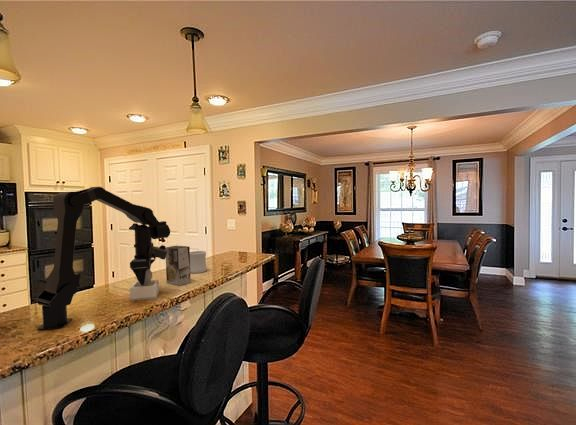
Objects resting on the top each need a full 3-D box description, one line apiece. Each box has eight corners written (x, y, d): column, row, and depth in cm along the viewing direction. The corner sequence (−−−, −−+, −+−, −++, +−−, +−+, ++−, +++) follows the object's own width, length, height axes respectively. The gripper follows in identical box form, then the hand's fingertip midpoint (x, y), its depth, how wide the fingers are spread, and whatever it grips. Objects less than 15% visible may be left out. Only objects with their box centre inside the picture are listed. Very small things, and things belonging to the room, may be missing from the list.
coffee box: (191, 282, 134) (190, 246, 133) (179, 286, 128) (178, 248, 128) (178, 279, 139) (177, 244, 138) (165, 283, 133) (164, 246, 132)
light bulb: (146, 297, 111) (146, 270, 111) (133, 296, 112) (133, 269, 112) (155, 292, 117) (155, 267, 116) (143, 291, 118) (142, 266, 118)
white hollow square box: (156, 298, 112) (155, 285, 112) (130, 301, 110) (129, 288, 109) (159, 291, 120) (158, 279, 120) (135, 293, 118) (134, 281, 118)
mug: (202, 268, 160) (201, 250, 160) (209, 271, 153) (209, 252, 153) (179, 272, 152) (178, 253, 152) (185, 275, 145) (185, 255, 145)
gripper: (163, 243, 107) (164, 286, 108) (168, 237, 125) (169, 274, 126) (128, 244, 104) (130, 289, 105) (139, 238, 122) (140, 276, 123)
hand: (144, 281), depth 115 cm, fingers open, 9 cm apart
